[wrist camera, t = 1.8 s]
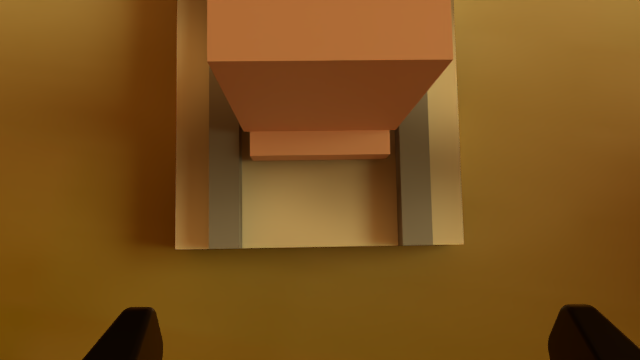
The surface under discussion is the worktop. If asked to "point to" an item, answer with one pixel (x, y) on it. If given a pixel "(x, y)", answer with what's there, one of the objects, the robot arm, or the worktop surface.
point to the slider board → (308, 171)
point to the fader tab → (326, 71)
